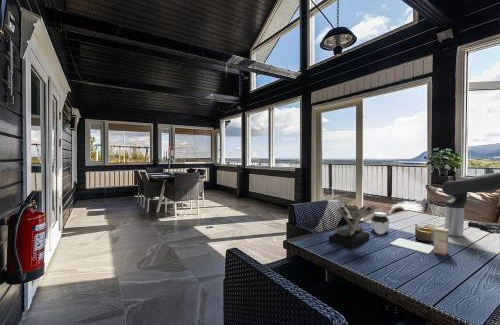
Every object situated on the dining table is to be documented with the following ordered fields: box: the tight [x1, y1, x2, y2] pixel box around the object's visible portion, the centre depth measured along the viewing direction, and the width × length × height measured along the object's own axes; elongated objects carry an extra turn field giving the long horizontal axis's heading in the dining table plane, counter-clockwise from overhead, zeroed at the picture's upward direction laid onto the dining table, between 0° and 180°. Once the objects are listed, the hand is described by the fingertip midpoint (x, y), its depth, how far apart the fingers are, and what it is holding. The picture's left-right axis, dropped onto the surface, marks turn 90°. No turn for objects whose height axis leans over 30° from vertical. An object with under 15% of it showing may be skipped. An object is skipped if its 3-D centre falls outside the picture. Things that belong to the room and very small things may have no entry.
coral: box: [328, 203, 378, 250], centre depth 146 cm, size 25×20×22 cm
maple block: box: [432, 226, 450, 256], centre depth 131 cm, size 5×5×12 cm
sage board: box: [389, 237, 434, 255], centre depth 141 cm, size 14×18×1 cm
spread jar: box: [370, 211, 390, 235], centre depth 165 cm, size 12×11×12 cm
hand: (468, 224), depth 124 cm, fingers closed
